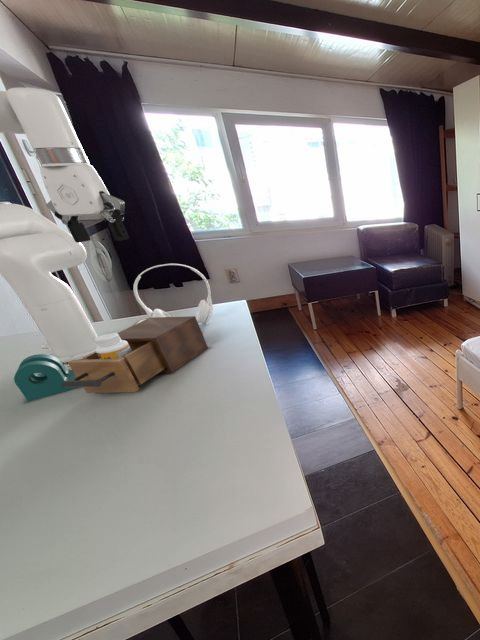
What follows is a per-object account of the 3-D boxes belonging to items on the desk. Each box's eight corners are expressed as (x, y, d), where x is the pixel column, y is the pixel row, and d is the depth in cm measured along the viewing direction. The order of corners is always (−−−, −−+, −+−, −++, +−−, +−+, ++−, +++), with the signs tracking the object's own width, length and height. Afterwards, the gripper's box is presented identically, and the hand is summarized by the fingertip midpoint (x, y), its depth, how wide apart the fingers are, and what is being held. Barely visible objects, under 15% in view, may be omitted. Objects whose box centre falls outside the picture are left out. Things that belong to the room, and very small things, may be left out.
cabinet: (172, 373, 90) (155, 337, 85) (123, 374, 90) (103, 339, 86) (208, 348, 102) (195, 316, 97) (164, 349, 102) (149, 317, 98)
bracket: (28, 401, 81) (6, 370, 77) (32, 389, 85) (12, 360, 82) (132, 371, 91) (116, 343, 87) (130, 362, 96) (116, 335, 92)
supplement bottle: (106, 380, 83) (83, 340, 79) (132, 368, 88) (111, 330, 83) (123, 383, 82) (100, 343, 77) (148, 371, 86) (128, 332, 82)
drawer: (116, 404, 76) (97, 372, 73) (65, 405, 77) (43, 373, 73) (176, 364, 92) (163, 336, 88) (133, 365, 92) (118, 337, 89)
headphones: (223, 322, 119) (200, 261, 110) (153, 338, 109) (122, 273, 100) (220, 316, 124) (198, 257, 115) (153, 331, 115) (124, 268, 105)
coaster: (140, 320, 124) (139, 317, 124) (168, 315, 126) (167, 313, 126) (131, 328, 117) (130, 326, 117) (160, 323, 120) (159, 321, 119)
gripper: (5, 160, 75) (51, 245, 83) (85, 156, 74) (124, 242, 82) (43, 161, 82) (83, 239, 90) (117, 157, 81) (151, 236, 89)
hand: (103, 240), depth 86 cm, fingers open, 9 cm apart
